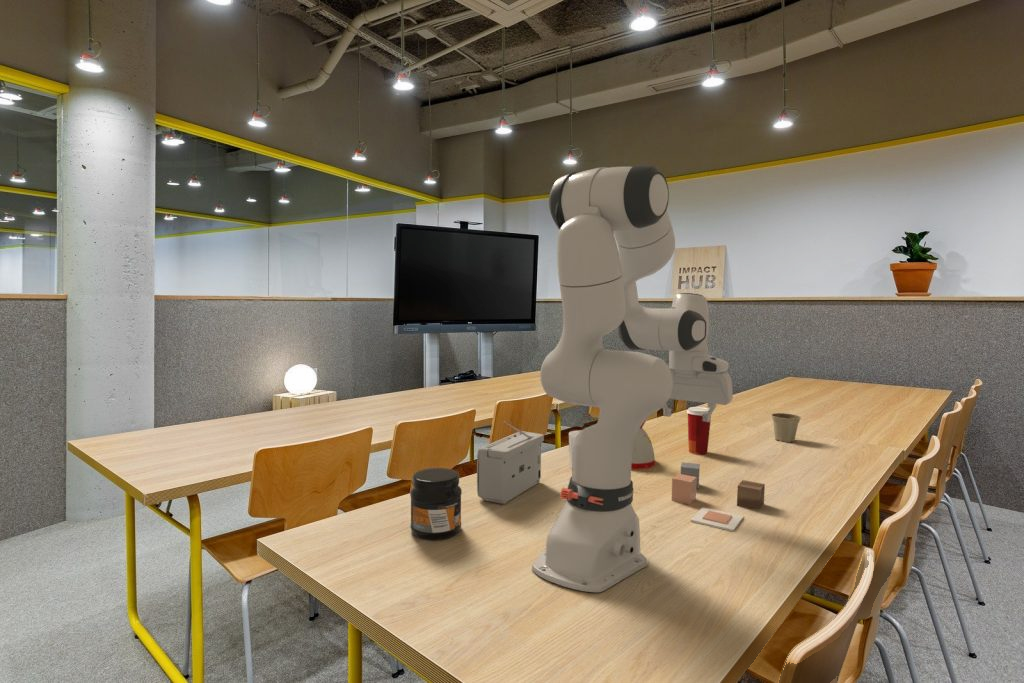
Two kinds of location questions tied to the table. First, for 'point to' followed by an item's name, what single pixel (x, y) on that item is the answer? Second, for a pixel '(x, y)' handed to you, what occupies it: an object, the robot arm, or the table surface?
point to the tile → (717, 519)
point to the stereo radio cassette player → (509, 466)
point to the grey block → (691, 471)
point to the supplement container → (435, 503)
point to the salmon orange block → (684, 488)
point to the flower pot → (785, 426)
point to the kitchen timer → (642, 451)
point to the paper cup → (698, 430)
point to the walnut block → (750, 495)
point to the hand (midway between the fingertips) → (686, 418)
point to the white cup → (571, 439)
